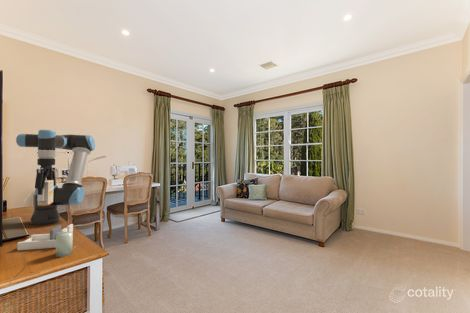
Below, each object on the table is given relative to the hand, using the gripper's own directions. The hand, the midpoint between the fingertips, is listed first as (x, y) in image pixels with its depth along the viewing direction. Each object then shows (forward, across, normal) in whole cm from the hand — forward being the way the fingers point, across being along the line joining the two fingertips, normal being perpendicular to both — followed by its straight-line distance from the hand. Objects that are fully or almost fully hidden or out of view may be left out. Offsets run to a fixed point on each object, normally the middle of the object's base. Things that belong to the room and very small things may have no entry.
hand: (45, 198), depth 124 cm
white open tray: (+20, +15, +8) cm, 26 cm away
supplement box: (+3, 0, 0) cm, 3 cm away
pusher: (+19, +15, +14) cm, 28 cm away
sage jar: (+20, +29, +21) cm, 41 cm away
